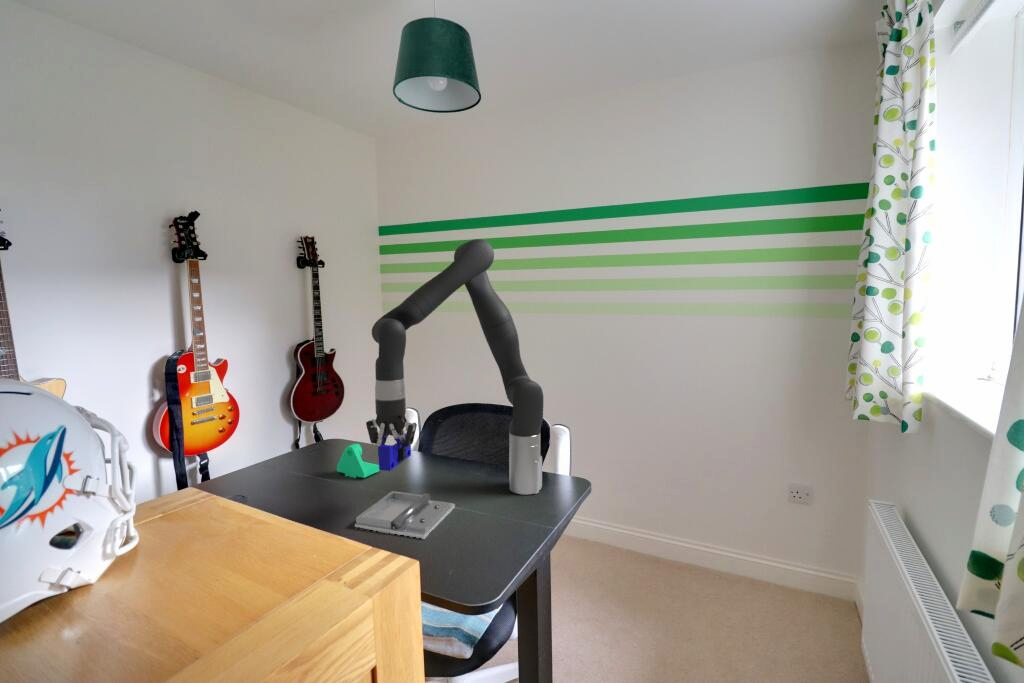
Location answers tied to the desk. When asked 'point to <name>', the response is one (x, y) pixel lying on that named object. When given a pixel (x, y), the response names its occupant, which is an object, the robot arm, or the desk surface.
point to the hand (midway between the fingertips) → (392, 460)
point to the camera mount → (355, 463)
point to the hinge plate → (398, 510)
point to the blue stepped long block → (390, 456)
